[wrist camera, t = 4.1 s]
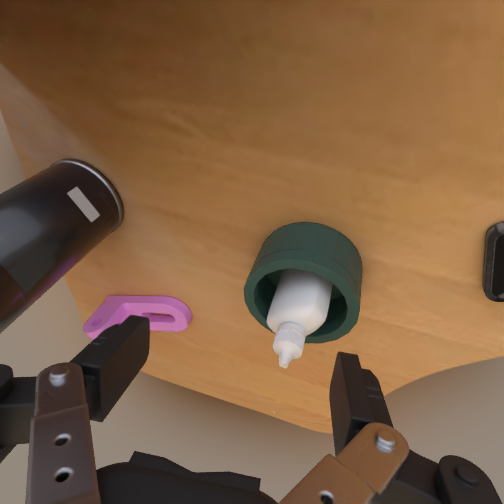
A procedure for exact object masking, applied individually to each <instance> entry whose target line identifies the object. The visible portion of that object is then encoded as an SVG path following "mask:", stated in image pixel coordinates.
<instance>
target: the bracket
mask: <svg viewBox="0 0 504 504" xmlns="http://www.w3.org/2000/svg"><path fill="white" fill-rule="evenodd" d="M151 313H167V314H170V315H154V314H151ZM130 315H137V316H143V317H148V318H149V320H150V330H155V331H172V332H181V331H184V330H185V329H186V328H187V326H188V325H189V323H190V321H191V319H192V314H191V311H190V310H189V308H188V307H187V306H186V305H185V304H184V303H183V302H181V301H180V300H178V299H175V298H173V297H168V296H108V298H107V299H106V300H105V301H104V302H103V303H102V304H101V306H100V307H99V308H98V309H97V310H96V311H95V312H94V314H93V315H92V316H91V317H90V318H89V319H88V320H87V322H86V323H85V324H84V327H83V330H84V332H85V333H86V334H87V336H88V337H89V338H90V339H92V340H94V339H95V338H97V336H98V335H99V334H100V333H101V332H102V331H103V330H105V329H106V328H108V327H110V326H113V325H115V324H121V323H122V322H123V321H124V320H125V319H126V318H127V317H128V316H130Z"/></svg>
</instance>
